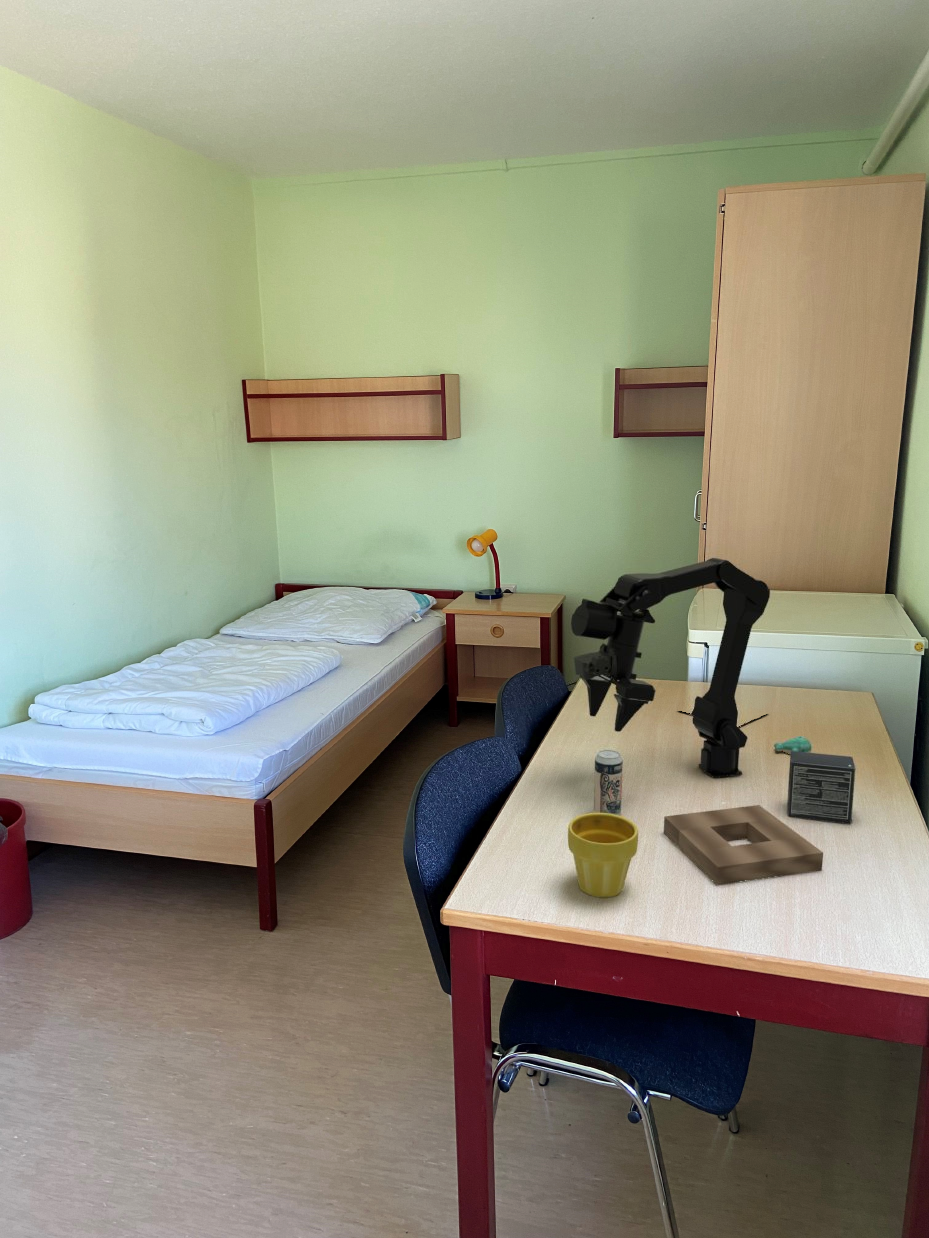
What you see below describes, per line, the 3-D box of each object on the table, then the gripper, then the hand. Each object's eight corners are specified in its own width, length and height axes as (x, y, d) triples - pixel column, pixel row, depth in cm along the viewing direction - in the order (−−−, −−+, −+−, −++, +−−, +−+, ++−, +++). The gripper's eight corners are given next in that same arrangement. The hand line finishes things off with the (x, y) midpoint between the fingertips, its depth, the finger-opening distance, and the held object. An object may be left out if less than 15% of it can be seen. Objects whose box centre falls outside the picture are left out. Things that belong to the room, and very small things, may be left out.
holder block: (758, 820, 152) (759, 804, 151) (821, 870, 135) (823, 852, 134) (663, 832, 148) (664, 816, 147) (717, 885, 131) (718, 866, 130)
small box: (848, 809, 156) (853, 755, 154) (852, 825, 150) (857, 768, 148) (786, 802, 159) (790, 748, 157) (787, 817, 153) (791, 761, 151)
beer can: (604, 825, 151) (605, 760, 148) (588, 815, 155) (589, 752, 152) (626, 819, 153) (628, 755, 150) (610, 809, 157) (611, 747, 155)
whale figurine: (812, 760, 180) (813, 742, 179) (774, 756, 182) (775, 739, 181) (809, 750, 185) (810, 733, 184) (773, 747, 187) (774, 730, 186)
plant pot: (644, 903, 126) (646, 841, 124) (574, 906, 125) (575, 844, 123) (626, 868, 136) (627, 810, 134) (561, 871, 136) (562, 813, 133)
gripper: (562, 626, 165) (544, 705, 167) (612, 649, 148) (592, 735, 150) (611, 634, 169) (593, 710, 171) (665, 656, 152) (645, 741, 154)
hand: (604, 723), depth 162 cm, fingers open, 9 cm apart
